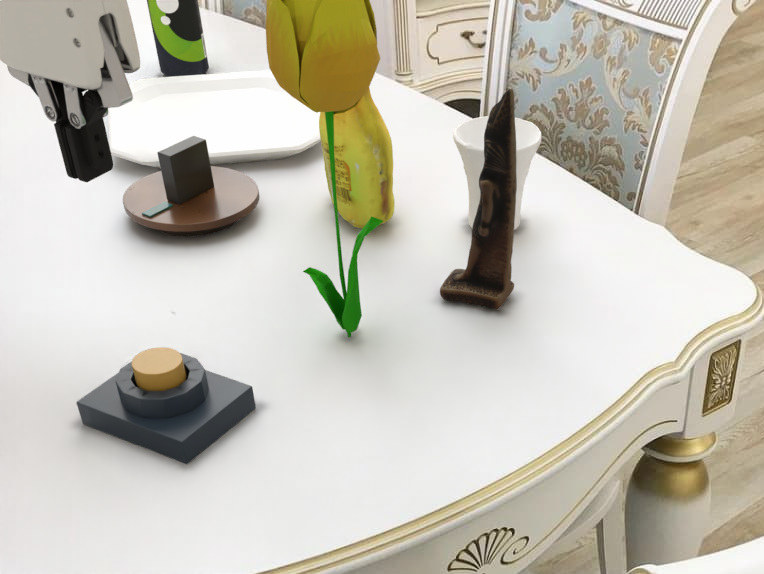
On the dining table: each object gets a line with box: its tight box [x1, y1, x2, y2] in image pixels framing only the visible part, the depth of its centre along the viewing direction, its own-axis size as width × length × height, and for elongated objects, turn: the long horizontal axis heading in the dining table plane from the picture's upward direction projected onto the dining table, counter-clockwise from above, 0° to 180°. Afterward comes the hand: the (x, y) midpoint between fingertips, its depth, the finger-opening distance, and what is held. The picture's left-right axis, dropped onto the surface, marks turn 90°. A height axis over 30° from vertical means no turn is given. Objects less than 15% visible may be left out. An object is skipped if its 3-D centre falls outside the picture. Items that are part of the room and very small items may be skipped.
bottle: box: [319, 87, 395, 230], centre depth 112 cm, size 12×6×20 cm, turn 25°
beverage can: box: [146, 0, 210, 77], centre depth 140 cm, size 6×6×15 cm
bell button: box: [131, 346, 186, 391], centre depth 90 cm, size 4×4×2 cm
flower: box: [265, 0, 383, 338], centre depth 91 cm, size 9×8×30 cm
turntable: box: [122, 136, 260, 232], centre depth 115 cm, size 14×14×6 cm
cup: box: [452, 115, 542, 231], centre depth 114 cm, size 9×9×10 cm
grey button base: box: [76, 352, 257, 465], centre depth 91 cm, size 11×9×4 cm
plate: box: [108, 69, 321, 169], centre depth 133 cm, size 25×25×2 cm
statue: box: [439, 88, 517, 310], centre depth 100 cm, size 4×7×20 cm, turn 71°
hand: (91, 172), depth 83 cm, fingers closed
